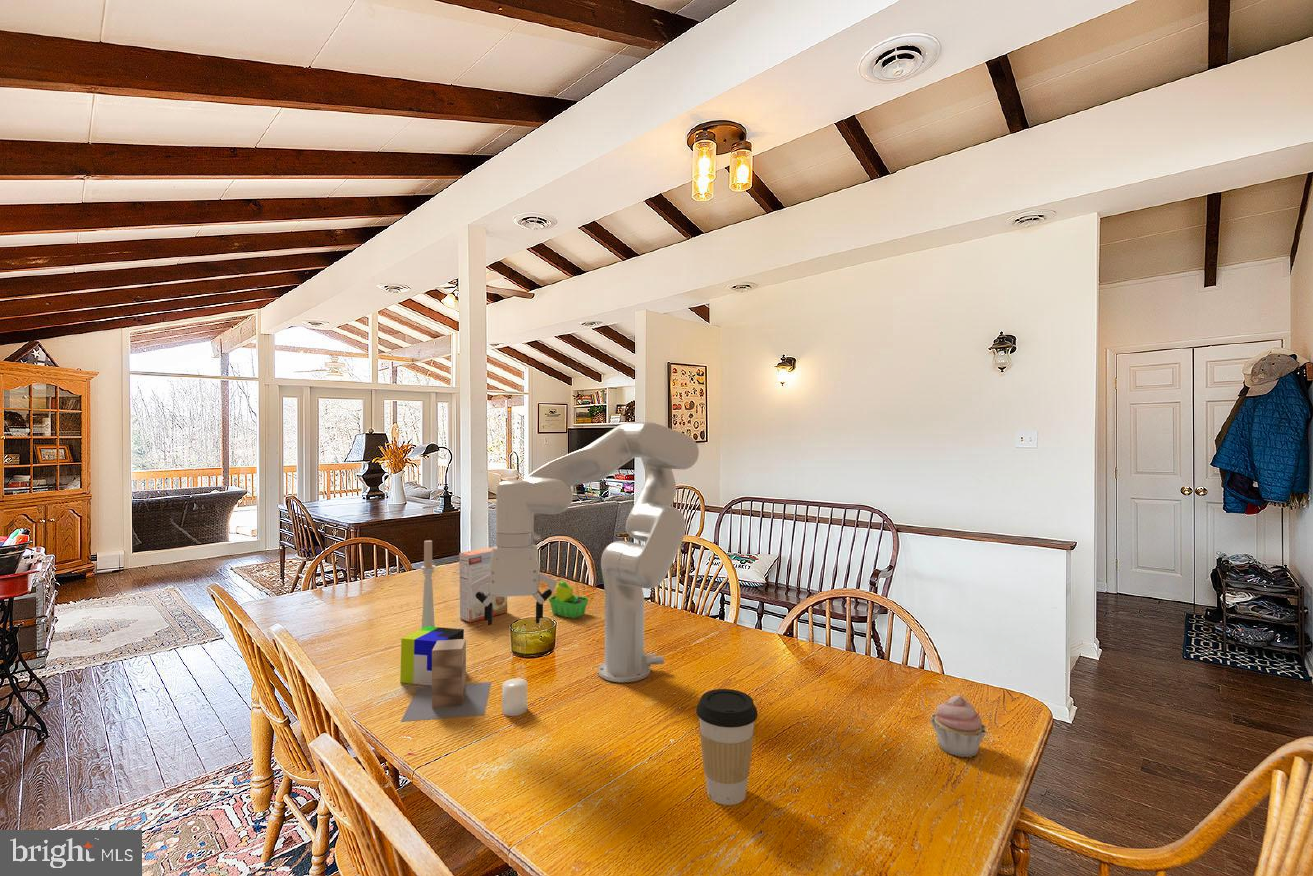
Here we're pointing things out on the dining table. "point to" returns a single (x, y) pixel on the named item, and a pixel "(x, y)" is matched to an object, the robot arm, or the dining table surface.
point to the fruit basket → (567, 602)
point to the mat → (471, 707)
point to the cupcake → (958, 727)
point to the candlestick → (428, 587)
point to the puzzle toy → (422, 653)
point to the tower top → (449, 659)
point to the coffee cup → (726, 743)
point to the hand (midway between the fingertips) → (514, 622)
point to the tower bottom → (448, 691)
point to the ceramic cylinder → (514, 697)
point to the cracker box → (472, 570)
